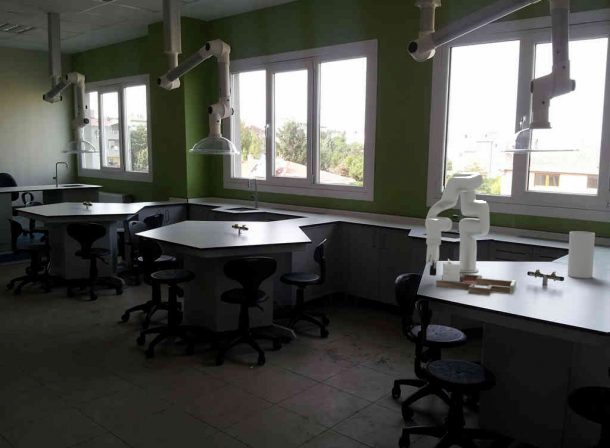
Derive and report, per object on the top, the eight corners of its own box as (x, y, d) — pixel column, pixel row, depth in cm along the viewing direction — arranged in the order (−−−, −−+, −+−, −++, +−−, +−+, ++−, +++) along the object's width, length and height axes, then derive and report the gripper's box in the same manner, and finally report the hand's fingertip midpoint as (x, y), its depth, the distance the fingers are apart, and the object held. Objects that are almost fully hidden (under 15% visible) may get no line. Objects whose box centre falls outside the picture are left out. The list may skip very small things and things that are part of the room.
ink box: (459, 286, 274) (460, 261, 273) (443, 285, 276) (443, 260, 274) (458, 283, 282) (459, 258, 281) (442, 282, 284) (442, 257, 283)
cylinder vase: (591, 275, 300) (593, 231, 298) (593, 279, 289) (595, 234, 286) (567, 273, 306) (569, 230, 303) (567, 277, 294) (570, 233, 292)
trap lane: (445, 277, 295) (445, 270, 295) (516, 284, 279) (517, 276, 279) (433, 289, 268) (433, 281, 267) (511, 297, 251) (512, 288, 251)
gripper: (429, 239, 289) (429, 272, 291) (423, 242, 276) (422, 277, 278) (443, 240, 286) (442, 273, 288) (437, 243, 272) (436, 278, 274)
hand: (432, 275), depth 283 cm, fingers closed
